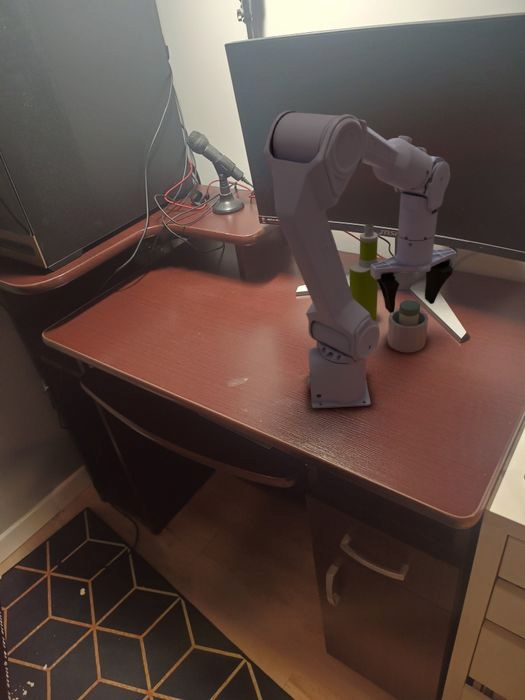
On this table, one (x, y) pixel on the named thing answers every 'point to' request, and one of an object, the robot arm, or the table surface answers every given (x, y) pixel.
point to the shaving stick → (409, 313)
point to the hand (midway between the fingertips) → (409, 305)
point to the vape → (365, 272)
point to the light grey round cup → (407, 333)
